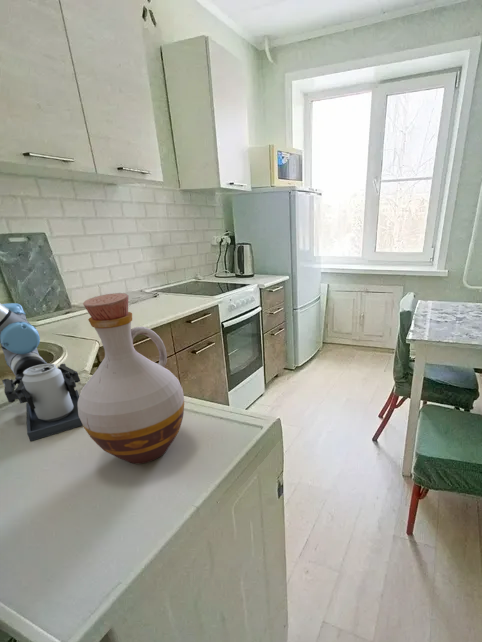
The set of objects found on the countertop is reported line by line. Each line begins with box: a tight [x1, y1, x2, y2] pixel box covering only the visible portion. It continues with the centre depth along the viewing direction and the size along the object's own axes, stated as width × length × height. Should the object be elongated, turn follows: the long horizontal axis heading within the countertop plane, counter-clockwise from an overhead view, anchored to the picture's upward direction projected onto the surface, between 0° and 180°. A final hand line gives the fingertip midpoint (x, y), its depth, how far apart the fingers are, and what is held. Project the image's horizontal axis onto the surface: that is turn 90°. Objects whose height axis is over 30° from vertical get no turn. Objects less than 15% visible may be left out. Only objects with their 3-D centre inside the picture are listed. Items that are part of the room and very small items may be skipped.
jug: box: [78, 292, 185, 465], centre depth 64 cm, size 20×18×30 cm
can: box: [22, 363, 74, 421], centre depth 81 cm, size 8×8×12 cm
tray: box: [25, 389, 83, 442], centre depth 83 cm, size 17×11×2 cm, turn 35°
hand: (52, 396), depth 77 cm, fingers closed on can, 7 cm apart
